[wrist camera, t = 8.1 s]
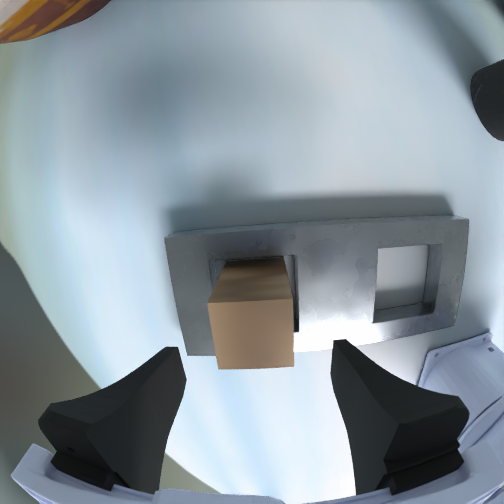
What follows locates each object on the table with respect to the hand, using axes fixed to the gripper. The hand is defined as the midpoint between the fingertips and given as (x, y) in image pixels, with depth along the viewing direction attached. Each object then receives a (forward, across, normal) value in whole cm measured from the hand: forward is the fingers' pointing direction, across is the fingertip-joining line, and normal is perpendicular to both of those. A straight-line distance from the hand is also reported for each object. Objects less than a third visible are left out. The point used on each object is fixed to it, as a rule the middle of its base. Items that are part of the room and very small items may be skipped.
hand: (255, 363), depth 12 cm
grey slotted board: (+8, -5, 0) cm, 10 cm away
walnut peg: (+8, 0, 0) cm, 8 cm away
